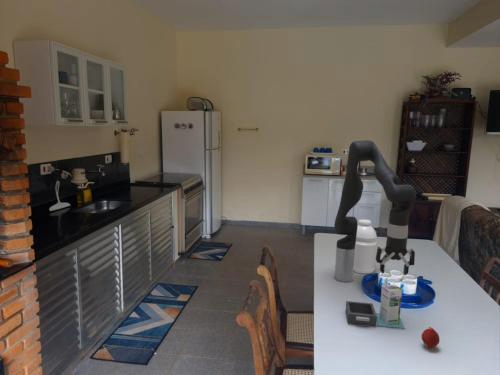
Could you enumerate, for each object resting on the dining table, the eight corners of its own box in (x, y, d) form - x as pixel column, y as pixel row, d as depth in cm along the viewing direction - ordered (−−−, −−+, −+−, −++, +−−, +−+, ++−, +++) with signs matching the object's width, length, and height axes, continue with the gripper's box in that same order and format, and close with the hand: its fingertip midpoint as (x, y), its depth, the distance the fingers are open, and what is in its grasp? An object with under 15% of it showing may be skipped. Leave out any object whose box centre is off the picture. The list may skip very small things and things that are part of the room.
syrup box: (386, 324, 148) (389, 290, 146) (379, 317, 154) (381, 284, 152) (399, 323, 150) (402, 289, 147) (391, 315, 155) (394, 283, 153)
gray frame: (345, 310, 160) (346, 301, 159) (371, 313, 158) (372, 303, 157) (348, 325, 148) (348, 315, 147) (376, 328, 146) (377, 318, 145)
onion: (433, 342, 137) (435, 322, 136) (441, 352, 132) (444, 331, 130) (417, 342, 137) (419, 322, 136) (425, 352, 132) (427, 331, 130)
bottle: (376, 267, 209) (380, 219, 204) (373, 276, 197) (377, 225, 192) (350, 262, 215) (354, 216, 210) (346, 271, 203) (349, 221, 198)
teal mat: (374, 314, 157) (374, 312, 157) (399, 316, 156) (399, 315, 156) (378, 326, 148) (378, 325, 148) (404, 329, 146) (404, 328, 146)
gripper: (413, 233, 148) (409, 271, 151) (376, 230, 150) (373, 268, 153) (419, 239, 140) (414, 278, 143) (380, 236, 143) (376, 275, 146)
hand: (393, 273), depth 148 cm, fingers open, 8 cm apart
